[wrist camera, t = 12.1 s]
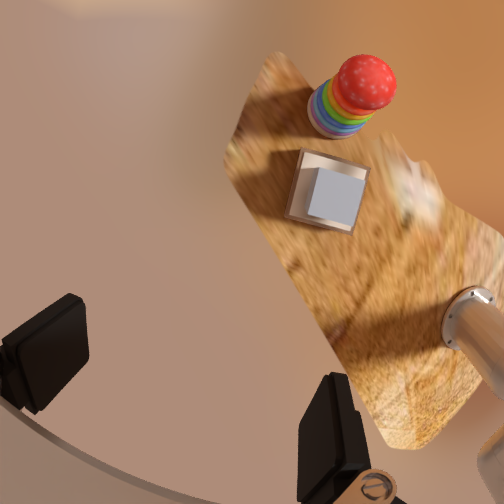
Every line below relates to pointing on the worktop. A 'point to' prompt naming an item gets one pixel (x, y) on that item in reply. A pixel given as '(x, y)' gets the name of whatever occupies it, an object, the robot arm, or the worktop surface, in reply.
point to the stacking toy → (351, 96)
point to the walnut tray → (303, 179)
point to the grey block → (334, 196)
